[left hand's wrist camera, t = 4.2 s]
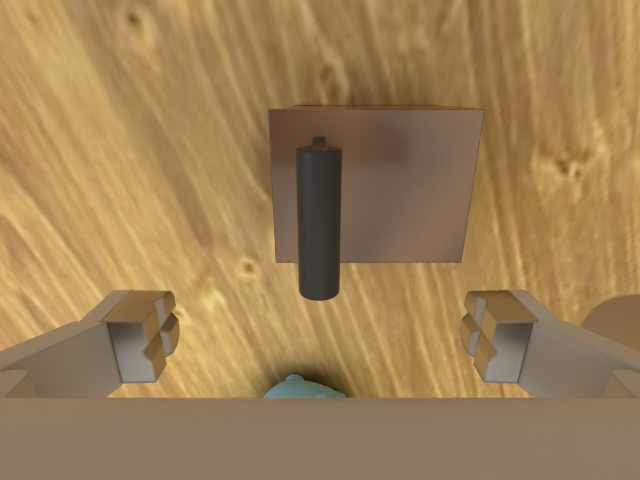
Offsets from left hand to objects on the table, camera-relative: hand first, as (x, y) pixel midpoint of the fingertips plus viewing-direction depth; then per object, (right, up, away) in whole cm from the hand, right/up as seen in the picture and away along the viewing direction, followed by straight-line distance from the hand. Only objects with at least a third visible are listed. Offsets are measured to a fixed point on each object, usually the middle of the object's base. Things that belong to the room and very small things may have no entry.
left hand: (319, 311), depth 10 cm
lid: (+3, +5, +14) cm, 15 cm away
